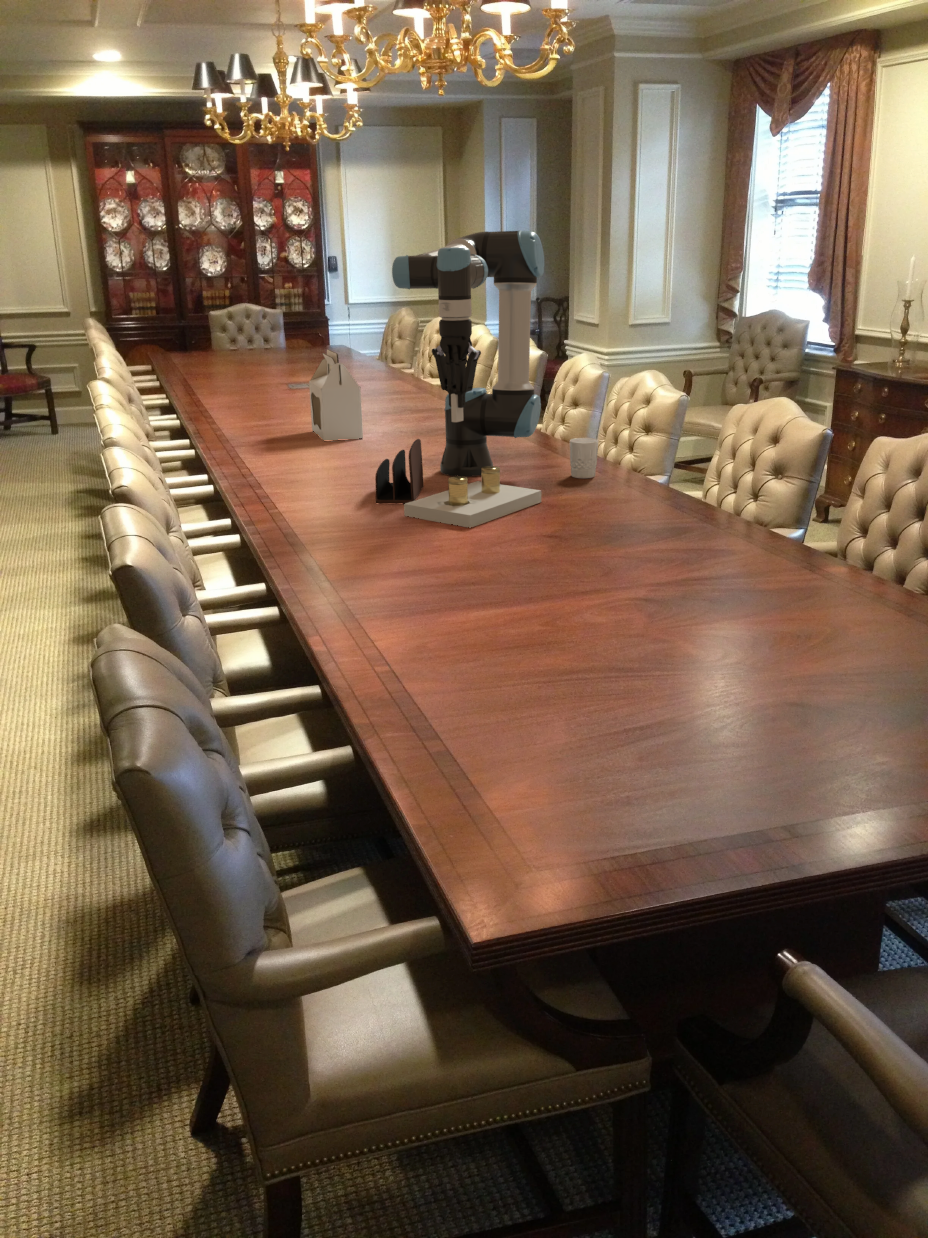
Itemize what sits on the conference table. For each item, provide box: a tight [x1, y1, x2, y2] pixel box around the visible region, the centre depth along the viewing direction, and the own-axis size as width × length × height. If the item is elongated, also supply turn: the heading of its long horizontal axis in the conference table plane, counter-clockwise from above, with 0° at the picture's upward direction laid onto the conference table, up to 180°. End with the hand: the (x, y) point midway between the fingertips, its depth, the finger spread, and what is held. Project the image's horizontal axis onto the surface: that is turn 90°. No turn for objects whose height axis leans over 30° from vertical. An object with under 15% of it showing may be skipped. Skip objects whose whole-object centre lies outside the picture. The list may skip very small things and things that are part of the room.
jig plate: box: [403, 480, 542, 529], centre depth 262 cm, size 20×30×3 cm, turn 143°
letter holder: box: [374, 438, 425, 504], centre depth 276 cm, size 10×20×14 cm, turn 175°
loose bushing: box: [447, 476, 469, 506], centre depth 256 cm, size 5×5×9 cm
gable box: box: [308, 349, 364, 441], centre depth 358 cm, size 22×13×28 cm, turn 18°
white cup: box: [569, 437, 599, 479], centre depth 294 cm, size 8×8×10 cm
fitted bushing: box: [480, 465, 501, 494], centre depth 267 cm, size 5×5×9 cm
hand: (457, 420), depth 252 cm, fingers closed
